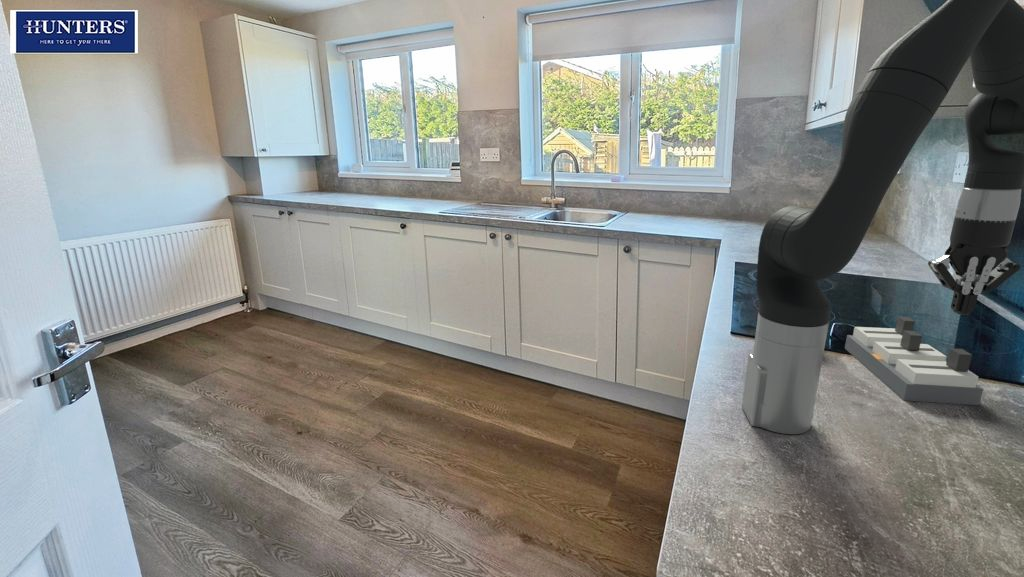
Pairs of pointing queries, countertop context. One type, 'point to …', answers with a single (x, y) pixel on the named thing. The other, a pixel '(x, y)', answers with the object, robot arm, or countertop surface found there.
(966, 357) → the block
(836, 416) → the countertop surface
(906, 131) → the robot arm
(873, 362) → the box
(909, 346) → the block
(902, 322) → the block
